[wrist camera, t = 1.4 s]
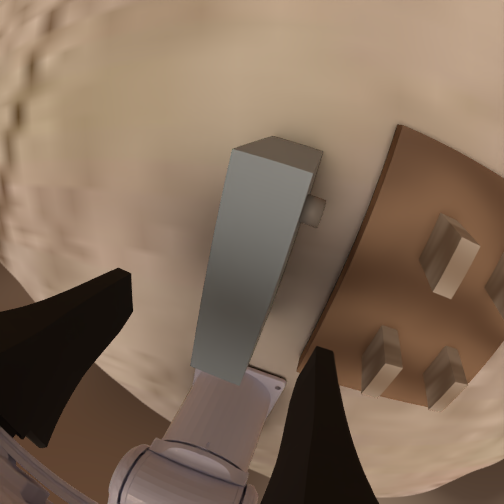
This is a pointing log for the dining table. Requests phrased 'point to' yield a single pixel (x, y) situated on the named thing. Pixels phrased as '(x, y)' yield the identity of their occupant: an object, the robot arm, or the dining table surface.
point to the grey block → (252, 249)
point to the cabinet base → (420, 279)
